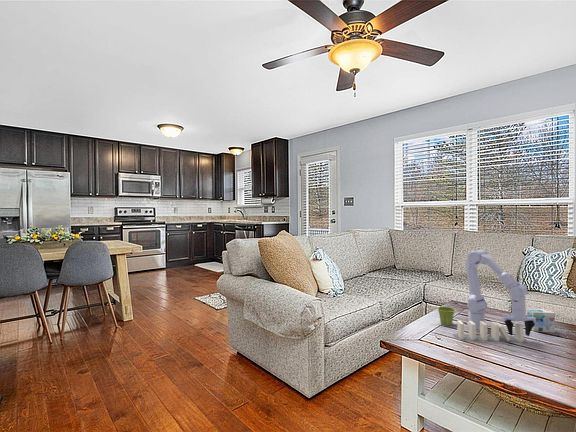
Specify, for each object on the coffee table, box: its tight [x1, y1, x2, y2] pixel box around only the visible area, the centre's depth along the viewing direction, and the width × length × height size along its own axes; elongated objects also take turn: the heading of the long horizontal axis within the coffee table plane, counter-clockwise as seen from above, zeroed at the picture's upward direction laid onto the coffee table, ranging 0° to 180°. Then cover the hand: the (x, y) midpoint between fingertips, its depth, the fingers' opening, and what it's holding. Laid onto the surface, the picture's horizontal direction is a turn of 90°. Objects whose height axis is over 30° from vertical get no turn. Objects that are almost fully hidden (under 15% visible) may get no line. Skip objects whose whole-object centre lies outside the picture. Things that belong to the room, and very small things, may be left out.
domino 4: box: [490, 321, 500, 341], centre depth 164 cm, size 2×5×8 cm, turn 170°
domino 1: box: [456, 320, 465, 339], centre depth 167 cm, size 2×5×8 cm, turn 170°
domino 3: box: [479, 321, 488, 340], centre depth 165 cm, size 2×5×8 cm, turn 170°
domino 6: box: [514, 321, 525, 342], centre depth 162 cm, size 2×5×8 cm, turn 169°
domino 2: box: [467, 320, 477, 340], centre depth 166 cm, size 2×5×8 cm, turn 170°
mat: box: [451, 333, 531, 344], centre depth 165 cm, size 8×34×1 cm, turn 80°
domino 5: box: [496, 321, 511, 341], centre depth 164 cm, size 2×5×8 cm, turn 169°
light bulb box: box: [526, 308, 556, 333], centre depth 175 cm, size 11×7×11 cm, turn 76°
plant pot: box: [436, 306, 456, 326], centre depth 188 cm, size 9×9×9 cm
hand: (518, 335), depth 162 cm, fingers open, 7 cm apart
